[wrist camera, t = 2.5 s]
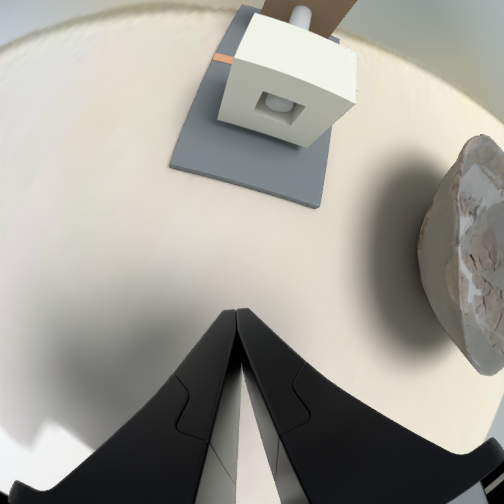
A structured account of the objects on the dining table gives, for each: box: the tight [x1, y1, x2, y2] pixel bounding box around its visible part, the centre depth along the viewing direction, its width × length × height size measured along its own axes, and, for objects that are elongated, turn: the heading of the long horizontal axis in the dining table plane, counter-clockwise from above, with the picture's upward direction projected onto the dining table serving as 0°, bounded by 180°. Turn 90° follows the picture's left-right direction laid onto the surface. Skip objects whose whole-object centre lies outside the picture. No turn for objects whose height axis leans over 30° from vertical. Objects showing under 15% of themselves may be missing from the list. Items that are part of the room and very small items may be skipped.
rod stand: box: [170, 0, 357, 209], centre depth 17 cm, size 22×12×10 cm, turn 167°
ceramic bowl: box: [417, 134, 504, 376], centre depth 21 cm, size 22×23×10 cm
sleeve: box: [217, 13, 357, 148], centre depth 16 cm, size 5×7×7 cm
